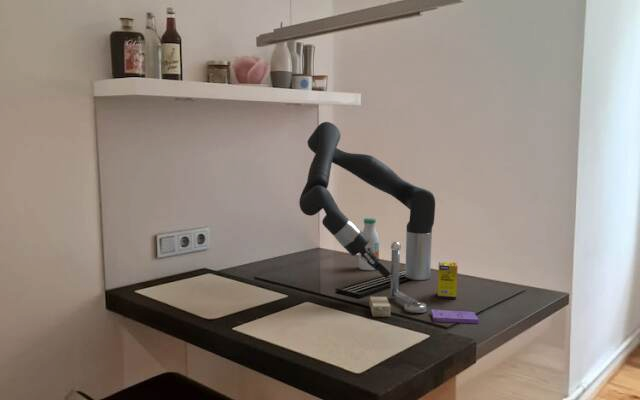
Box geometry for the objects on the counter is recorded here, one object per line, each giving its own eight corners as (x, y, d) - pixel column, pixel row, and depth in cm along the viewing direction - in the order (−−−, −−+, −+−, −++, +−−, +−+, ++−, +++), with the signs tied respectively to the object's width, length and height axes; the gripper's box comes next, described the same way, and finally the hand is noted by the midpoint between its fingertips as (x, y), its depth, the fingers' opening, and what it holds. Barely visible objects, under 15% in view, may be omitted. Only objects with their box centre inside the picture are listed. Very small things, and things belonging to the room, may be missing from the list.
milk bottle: (369, 271, 215) (370, 220, 212) (354, 268, 220) (355, 218, 218) (382, 269, 220) (383, 218, 218) (368, 265, 225) (369, 216, 223)
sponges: (430, 315, 164) (431, 309, 164) (474, 317, 163) (474, 311, 162) (433, 323, 157) (433, 316, 157) (479, 325, 156) (479, 318, 155)
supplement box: (456, 299, 179) (457, 266, 178) (437, 298, 180) (438, 265, 179) (455, 294, 185) (457, 262, 184) (437, 293, 186) (438, 261, 185)
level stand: (369, 306, 170) (369, 296, 170) (386, 306, 170) (386, 296, 170) (373, 317, 159) (373, 307, 159) (391, 318, 159) (391, 307, 159)
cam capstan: (430, 312, 164) (432, 251, 162) (411, 314, 162) (413, 252, 160) (400, 295, 181) (402, 240, 179) (383, 297, 179) (384, 241, 177)
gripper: (341, 241, 183) (377, 278, 185) (343, 249, 170) (382, 289, 172) (357, 225, 182) (393, 263, 184) (361, 233, 169) (400, 272, 171)
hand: (388, 275), depth 178 cm, fingers closed
